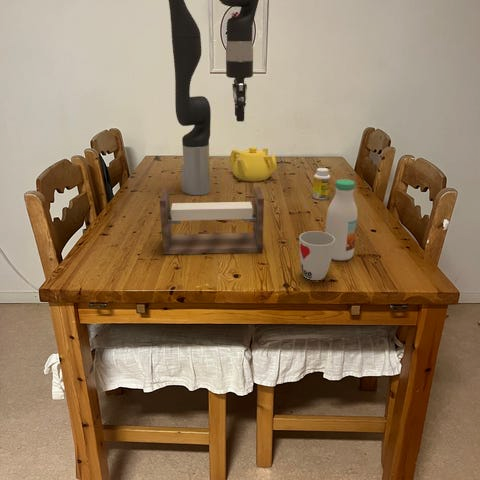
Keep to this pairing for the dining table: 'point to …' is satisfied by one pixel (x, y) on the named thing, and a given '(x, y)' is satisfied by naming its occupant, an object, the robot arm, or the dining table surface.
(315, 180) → the supplement bottle
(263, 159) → the teapot
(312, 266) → the cup
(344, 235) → the milk bottle
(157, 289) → the dining table surface
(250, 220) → the shelf frame
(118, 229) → the dining table surface
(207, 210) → the shelf board
